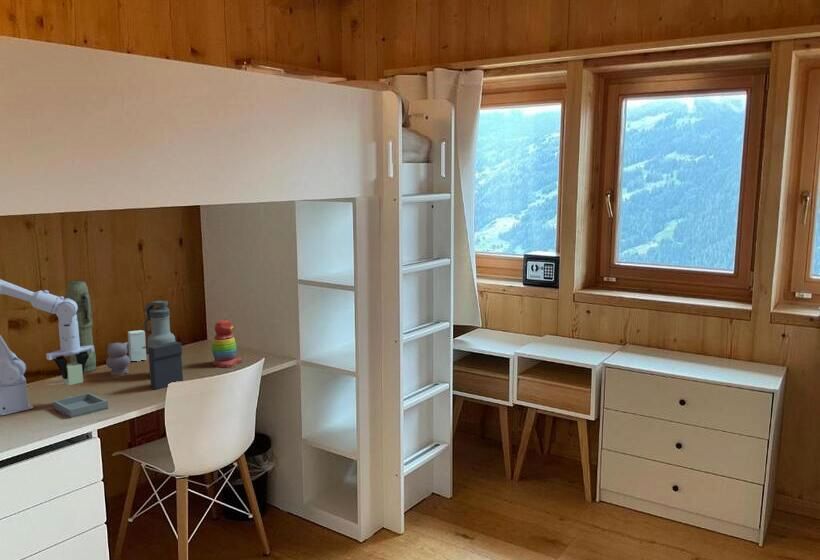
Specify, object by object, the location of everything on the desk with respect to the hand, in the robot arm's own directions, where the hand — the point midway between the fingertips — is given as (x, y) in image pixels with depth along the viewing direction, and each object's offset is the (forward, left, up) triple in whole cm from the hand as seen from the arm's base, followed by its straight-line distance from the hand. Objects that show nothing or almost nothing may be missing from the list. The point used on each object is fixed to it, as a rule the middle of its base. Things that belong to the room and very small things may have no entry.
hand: (73, 376), depth 227 cm
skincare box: (+40, +37, -9) cm, 55 cm away
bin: (-1, -7, -9) cm, 12 cm away
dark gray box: (+30, -5, -9) cm, 32 cm away
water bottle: (+36, +9, -9) cm, 38 cm away
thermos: (+19, +39, -9) cm, 44 cm away
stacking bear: (+60, +4, -9) cm, 61 cm away
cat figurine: (+26, +24, -9) cm, 36 cm away
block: (0, 0, -2) cm, 2 cm away
